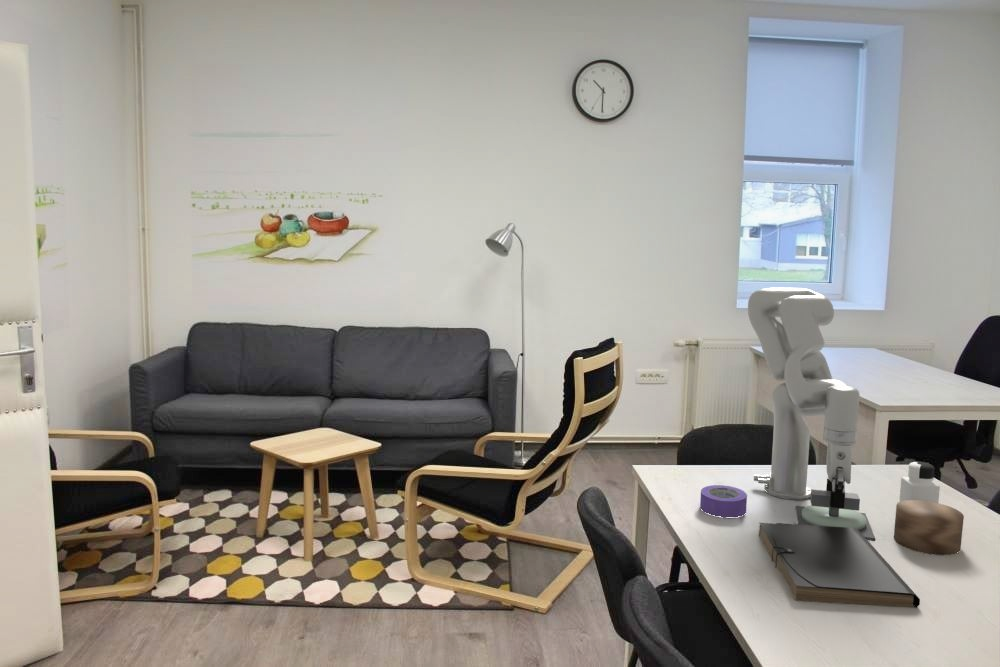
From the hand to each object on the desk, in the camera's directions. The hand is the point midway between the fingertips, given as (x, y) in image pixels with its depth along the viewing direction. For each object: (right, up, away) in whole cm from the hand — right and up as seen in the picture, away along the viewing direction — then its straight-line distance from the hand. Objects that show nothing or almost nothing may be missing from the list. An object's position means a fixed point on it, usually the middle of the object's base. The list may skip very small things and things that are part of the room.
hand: (834, 500), depth 194 cm
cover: (0, -5, +1) cm, 5 cm away
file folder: (-12, -10, -25) cm, 29 cm away
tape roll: (-26, -5, +9) cm, 28 cm away
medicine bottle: (+28, -5, +13) cm, 31 cm away
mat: (0, -6, +1) cm, 6 cm away
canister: (+17, -8, -11) cm, 22 cm away
